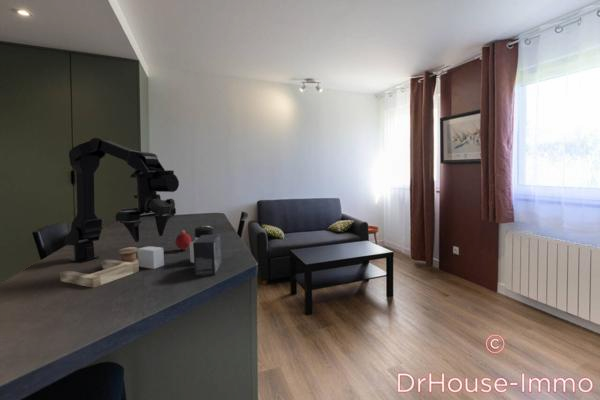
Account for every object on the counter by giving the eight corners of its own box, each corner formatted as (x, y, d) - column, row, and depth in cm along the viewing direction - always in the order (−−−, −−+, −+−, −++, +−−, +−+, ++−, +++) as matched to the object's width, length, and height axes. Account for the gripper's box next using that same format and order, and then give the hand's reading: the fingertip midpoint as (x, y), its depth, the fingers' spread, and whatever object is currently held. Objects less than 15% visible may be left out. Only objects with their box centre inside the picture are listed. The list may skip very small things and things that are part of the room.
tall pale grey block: (138, 266, 97) (137, 248, 96) (148, 263, 100) (147, 246, 100) (154, 269, 94) (153, 250, 93) (164, 265, 98) (163, 247, 97)
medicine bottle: (209, 264, 98) (207, 229, 97) (190, 263, 100) (188, 228, 99) (219, 258, 105) (218, 225, 104) (201, 257, 107) (199, 224, 106)
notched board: (60, 281, 84) (60, 272, 84) (108, 266, 97) (107, 259, 97) (93, 287, 79) (92, 278, 78) (139, 271, 92) (138, 263, 91)
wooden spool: (115, 265, 98) (114, 250, 97) (130, 260, 103) (129, 246, 103) (127, 267, 96) (126, 252, 95) (142, 262, 101) (141, 248, 101)
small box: (202, 265, 97) (200, 234, 96) (222, 264, 98) (221, 233, 97) (193, 276, 87) (191, 241, 86) (215, 275, 87) (214, 241, 86)
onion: (188, 252, 113) (187, 232, 112) (173, 252, 113) (172, 232, 113) (193, 248, 119) (193, 229, 118) (179, 248, 119) (178, 229, 118)
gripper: (139, 194, 83) (142, 247, 85) (187, 190, 101) (189, 234, 102) (112, 193, 87) (116, 244, 89) (162, 189, 105) (164, 232, 106)
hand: (149, 238), depth 96 cm, fingers open, 9 cm apart
